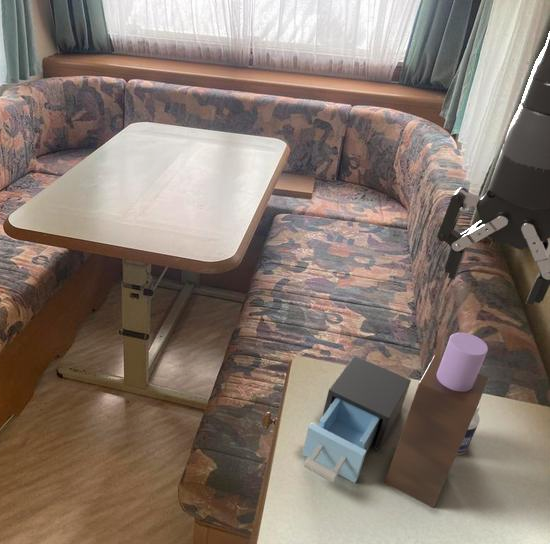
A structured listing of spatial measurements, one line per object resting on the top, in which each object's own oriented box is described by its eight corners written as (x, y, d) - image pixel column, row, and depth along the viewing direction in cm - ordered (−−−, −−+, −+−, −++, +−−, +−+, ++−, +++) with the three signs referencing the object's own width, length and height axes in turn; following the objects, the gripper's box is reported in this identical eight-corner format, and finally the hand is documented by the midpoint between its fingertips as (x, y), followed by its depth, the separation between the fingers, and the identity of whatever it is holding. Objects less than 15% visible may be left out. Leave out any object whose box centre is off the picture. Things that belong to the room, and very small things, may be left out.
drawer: (342, 506, 79) (350, 478, 76) (287, 475, 83) (293, 447, 80) (377, 442, 89) (386, 416, 86) (327, 417, 93) (334, 391, 90)
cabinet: (377, 453, 89) (389, 418, 85) (320, 424, 93) (328, 389, 89) (399, 413, 96) (411, 379, 92) (345, 388, 101) (354, 355, 97)
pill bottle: (431, 454, 89) (449, 409, 84) (427, 429, 93) (444, 384, 88) (468, 462, 88) (489, 417, 83) (462, 436, 93) (482, 391, 87)
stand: (444, 478, 85) (489, 377, 75) (431, 511, 80) (476, 407, 70) (398, 455, 89) (434, 355, 78) (382, 486, 84) (419, 382, 73)
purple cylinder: (476, 378, 74) (491, 341, 71) (468, 397, 71) (483, 359, 68) (441, 364, 76) (454, 328, 73) (432, 381, 73) (445, 345, 70)
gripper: (460, 146, 59) (418, 281, 67) (624, 184, 52) (554, 328, 60) (477, 130, 64) (436, 256, 73) (627, 162, 57) (563, 297, 66)
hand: (490, 288), depth 66 cm, fingers open, 8 cm apart
